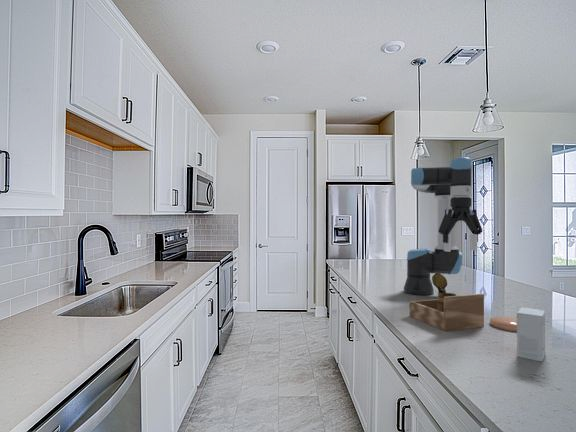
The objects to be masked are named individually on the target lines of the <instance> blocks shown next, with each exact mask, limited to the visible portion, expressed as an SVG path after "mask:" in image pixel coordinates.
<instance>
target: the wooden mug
mask: <svg viewBox="0 0 576 432" xmlns="http://www.w3.org/2000/svg"><path fill="white" fill-rule="evenodd" d="M431 283H432V285H433V287H436V288H437V291H438V292H437V298H436V299H437V301H438V306H437V310H438V311H441V312H444V297H448V296H457V294H456V293H453V292H447V291H446V289H445V288H447V286H448V281H447V279H446V277H445V276H444V274H439V273H433V275H432V277H431Z"/></svg>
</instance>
